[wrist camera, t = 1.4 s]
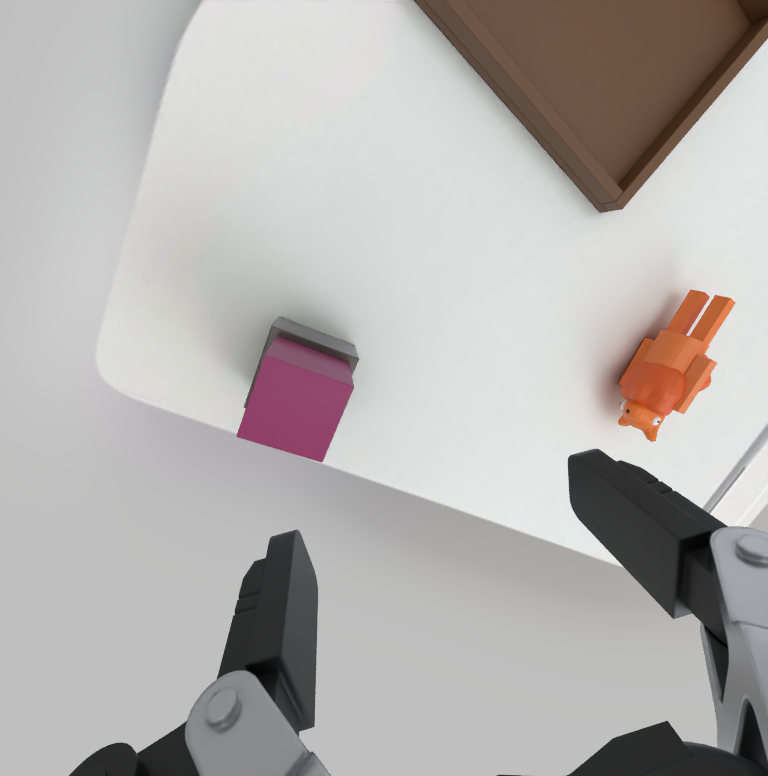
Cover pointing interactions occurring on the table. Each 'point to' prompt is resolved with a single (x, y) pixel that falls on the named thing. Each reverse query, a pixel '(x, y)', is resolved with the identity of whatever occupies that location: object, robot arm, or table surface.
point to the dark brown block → (308, 344)
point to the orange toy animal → (672, 365)
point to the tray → (605, 74)
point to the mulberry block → (297, 400)
